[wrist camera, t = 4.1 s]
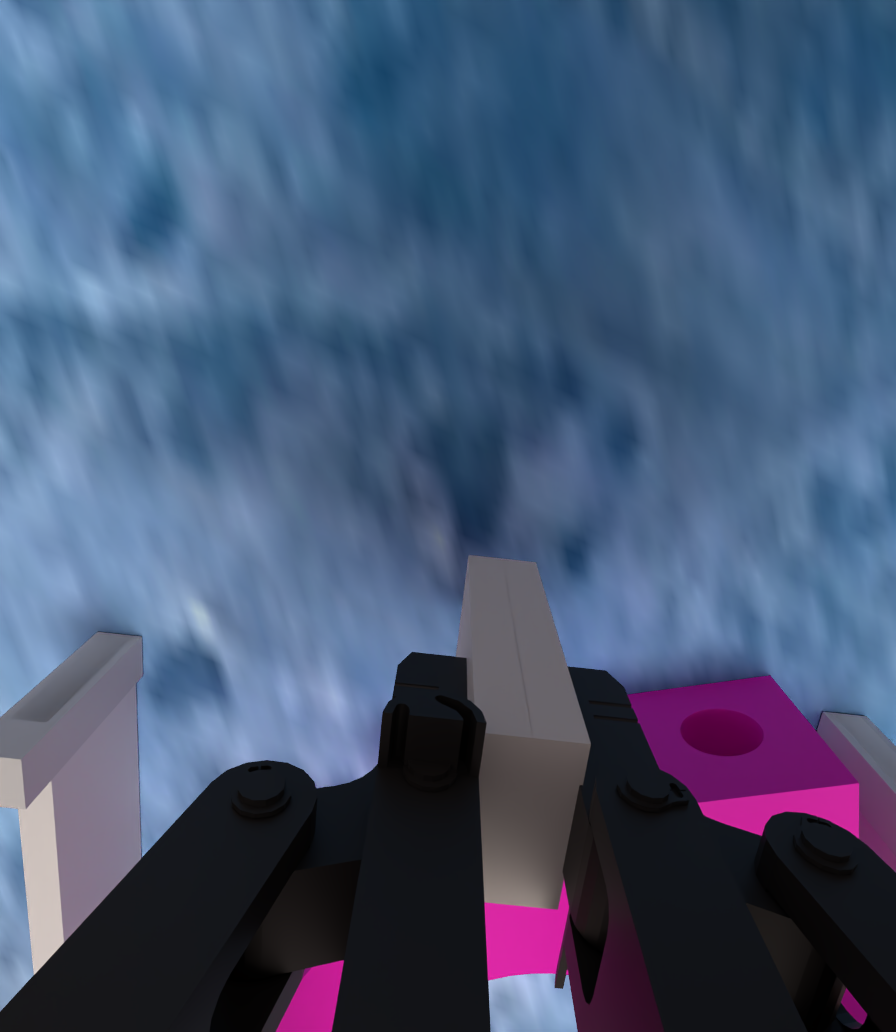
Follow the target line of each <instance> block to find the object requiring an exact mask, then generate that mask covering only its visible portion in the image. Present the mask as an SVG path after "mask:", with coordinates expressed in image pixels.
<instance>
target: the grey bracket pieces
mask: <svg viewBox="0 0 896 1032" xmlns="http://www.w3.org/2000/svg"><path fill="white" fill-rule="evenodd" d="M142 676H143V659H142V637H140V636H131V635H122V634H113V633H104V632H97V633H96V634H94V635H93V636H92V637H91V638H90V639H89V640H88V641H87V642H85V643H84V644H83V645H82V646H81V647H80V648H79V649H77V650H76V651H75V652H74V653H73V654H72V655H71V656H69V657H68V658H67V659H66V660H65V661H64V662H63V663H62V664H60V665H59V666H58V667H57V668H56V669H55V670H54V671H52V672H51V673H50V674H49V675H48V676H47V677H46V678H45V679H43V680H42V681H41V682H40V683H39V684H38V685H37V686H35V687H34V688H33V689H32V690H31V691H30V692H29V693H27V694H26V695H25V696H24V697H23V698H22V699H21V700H20V701H18V702H17V703H16V704H15V705H14V706H13V707H12V708H10V709H9V710H8V711H7V712H6V713H5V714H4V715H3V716H1V717H0V807H6V808H16V809H18V812H19V823H20V833H21V844H22V854H23V865H24V875H25V886H26V896H27V907H28V917H29V928H30V938H31V949H32V959H33V970H34V975H35V974H36V972H37V971H38V970H39V969H40V968H41V967H42V966H43V965H44V964H45V963H46V962H47V961H48V959H49V958H50V957H51V956H52V955H53V954H54V953H55V952H56V951H57V950H58V949H59V947H60V946H61V945H62V944H63V943H64V942H65V941H66V940H67V939H68V938H69V937H70V936H71V934H72V933H73V932H74V931H75V930H76V929H77V928H78V927H79V926H80V925H81V924H82V922H83V921H84V920H85V919H86V918H87V917H88V916H89V915H90V914H91V913H92V912H93V911H94V909H95V908H96V907H97V906H98V905H99V904H100V903H101V902H102V901H103V900H104V899H105V897H106V896H107V895H108V894H109V893H110V892H111V891H112V890H113V889H114V888H115V887H116V886H117V884H118V883H119V882H120V881H121V880H122V879H123V878H124V877H125V876H126V875H127V874H128V873H129V871H130V870H131V869H132V868H133V867H134V866H135V865H136V864H137V863H138V862H139V861H140V859H141V832H140V799H139V766H138V734H137V701H136V683H137V682H138V681H139V680H140V679H141V677H142ZM817 733H818V734H819V735H820V736H821V738H822V739H823V740H824V741H825V742H826V744H827V745H828V746H829V747H830V748H831V750H832V751H833V752H834V753H835V755H836V756H837V757H838V758H839V759H840V761H841V762H842V763H843V764H844V765H845V767H846V768H847V769H848V770H849V771H850V773H851V774H852V775H853V776H854V778H855V779H856V780H857V781H858V782H859V839H860V840H861V841H862V842H864V843H865V844H866V845H867V846H869V847H870V848H871V849H872V850H873V851H874V852H875V853H876V854H877V855H878V856H879V857H880V858H881V859H882V860H883V861H884V862H885V863H886V864H887V865H888V866H890V867H891V868H892V869H893V870H894V871H895V872H896V746H895V745H894V744H893V743H892V742H891V741H890V740H889V739H888V738H887V737H886V736H885V735H884V734H883V733H882V732H881V731H880V730H879V729H878V728H877V727H876V726H875V725H874V724H873V723H872V722H871V721H870V720H869V719H868V718H867V716H858V715H849V714H840V713H831V712H823V713H822V716H821V719H820V722H819V726H818V729H817Z"/></svg>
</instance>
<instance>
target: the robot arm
mask: <svg viewBox="0 0 896 1032" xmlns="http://www.w3.org/2000/svg"><path fill="white" fill-rule="evenodd" d="M563 882H565V888H566V893H567V899H568V904H569V910H568V915H567V920H566V925H565V930H564V934H563V939H562V944H561V949H560V954H559V959H558V964H557V968H556V976H555V988H562V989H563V986H564V981H565V977H566V972H567V970H568V974H569V980H570V986H571V992H572V999H573V1005H574V1011H575V1017H576V1023H577V1029H578V1032H896V872H895V871H894V870H893V869H892V868H891V867H890V866H888V865H887V864H886V863H885V862H884V861H883V860H882V859H881V858H880V857H879V856H878V855H877V854H876V853H875V852H874V851H873V850H872V849H871V848H870V847H869V846H867V845H866V844H865V843H864V842H862V841H861V840H860V839H858V838H857V837H856V836H855V835H853V834H852V833H851V832H849V831H848V830H846V829H844V828H842V827H840V826H838V825H836V824H834V823H832V822H831V821H829V820H826V819H824V818H821V817H817V816H814V815H810V814H807V813H800V812H787V811H786V812H783V813H779V814H776V815H772V816H771V818H770V819H769V820H768V822H767V823H766V824H765V827H764V830H763V833H762V836H761V835H757V834H754V833H751V832H748V831H745V830H742V829H739V828H736V827H733V826H730V825H727V824H724V823H721V822H719V821H716V820H714V819H711V818H709V817H706V816H705V815H703V813H702V811H701V809H700V807H699V805H698V802H697V800H696V799H695V797H694V796H693V795H692V793H691V792H690V791H689V789H688V788H687V787H686V786H685V785H684V784H683V783H681V782H680V781H679V780H677V779H676V778H675V777H673V776H672V775H671V774H669V773H666V772H664V771H662V770H660V769H659V767H658V764H657V762H656V760H655V757H654V755H653V753H652V751H651V748H650V746H649V744H648V741H647V739H646V737H645V735H644V732H643V730H642V728H641V725H640V723H638V718H637V716H636V714H635V712H634V709H633V708H631V702H630V700H629V698H628V696H627V693H626V691H625V689H624V687H623V686H622V685H621V684H620V683H619V682H618V681H617V680H615V679H614V678H613V677H612V676H611V675H610V674H609V673H608V672H607V671H605V670H595V669H586V668H576V667H567V663H566V660H565V657H564V654H563V650H562V647H561V644H560V640H559V637H558V634H557V630H556V627H555V624H554V621H553V617H552V614H551V611H550V607H549V604H548V601H547V598H546V594H545V591H544V588H543V584H542V581H541V578H540V575H539V571H538V568H537V565H536V562H529V561H520V560H511V559H502V558H493V557H483V556H474V555H469V556H468V563H467V571H466V579H465V587H464V595H463V603H462V611H461V619H460V627H459V635H458V643H457V650H456V657H453V656H444V655H434V654H425V653H416V652H412V653H410V654H409V655H408V656H407V657H406V658H405V659H404V660H403V661H402V662H401V663H400V664H399V665H398V668H397V674H396V680H395V686H394V691H393V698H392V700H390V701H389V702H388V704H387V705H386V707H385V709H384V711H383V715H382V725H381V736H380V747H379V757H378V764H377V765H376V766H375V768H374V769H373V770H372V771H370V772H369V773H367V774H366V775H365V776H363V777H361V778H359V779H357V780H354V781H352V782H350V783H346V784H341V785H337V786H331V787H324V788H316V787H315V783H314V781H313V780H312V779H311V778H310V777H309V775H308V774H307V773H306V772H305V771H304V770H302V769H300V768H297V767H295V766H293V765H291V764H289V763H284V762H277V761H269V760H266V761H258V762H249V763H245V764H242V765H240V766H237V767H234V768H232V769H229V770H227V771H226V772H224V773H223V774H222V775H220V776H219V777H218V778H216V779H215V780H214V781H212V782H211V783H210V785H209V786H208V787H207V788H206V789H205V790H204V791H203V792H202V793H201V794H200V795H199V796H198V798H197V799H196V800H195V801H194V802H193V803H192V804H191V805H190V806H189V807H188V808H187V809H186V811H185V812H184V813H183V814H182V815H181V816H180V817H179V818H178V819H177V820H176V821H175V823H174V824H173V825H172V826H171V827H170V828H169V829H168V830H167V831H166V832H165V833H164V834H163V836H162V837H161V838H160V839H159V840H158V841H157V842H156V843H155V844H154V845H153V846H152V848H151V849H150V850H149V851H148V852H147V853H146V854H145V855H144V856H143V857H142V858H141V859H140V861H139V862H138V863H137V864H136V865H135V866H134V867H133V868H132V869H131V870H130V871H129V873H128V874H127V875H126V876H125V877H124V878H123V879H122V880H121V881H120V882H119V883H118V884H117V886H116V887H115V888H114V889H113V890H112V891H111V892H110V893H109V894H108V895H107V896H106V897H105V899H104V900H103V901H102V902H101V903H100V904H99V905H98V906H97V907H96V908H95V909H94V911H93V912H92V913H91V914H90V915H89V916H88V917H87V918H86V919H85V920H84V921H83V922H82V924H81V925H80V926H79V927H78V928H77V929H76V930H75V931H74V932H73V933H72V934H71V936H70V937H69V938H68V939H67V940H66V941H65V942H64V943H63V944H62V945H61V946H60V947H59V949H58V950H57V951H56V952H55V953H54V954H53V955H52V956H51V957H50V958H49V959H48V961H47V962H46V963H45V964H44V965H43V966H42V967H41V968H40V969H39V970H38V971H37V972H36V974H35V975H34V976H33V977H32V978H31V979H30V980H29V981H28V982H27V983H26V984H25V985H24V987H23V988H22V989H21V990H20V991H19V992H18V993H17V994H16V995H15V996H14V997H13V999H12V1000H11V1001H10V1002H9V1003H8V1004H7V1005H6V1006H5V1007H4V1008H3V1009H2V1010H1V1012H0V1032H276V1030H277V1028H278V1026H279V1024H280V1022H281V1020H282V1018H283V1016H284V1014H285V1012H286V1010H287V1008H288V1006H289V1004H290V1002H291V1000H292V998H293V996H294V994H295V992H296V990H297V988H298V986H299V984H300V982H301V980H302V977H303V974H304V970H305V969H306V968H311V967H315V966H320V965H324V964H329V963H333V962H338V961H342V960H344V963H343V969H342V975H341V980H340V986H339V992H338V998H337V1003H336V1009H335V1015H334V1021H333V1026H332V1032H490V1011H489V990H488V968H487V946H486V924H485V903H484V902H486V903H496V904H506V905H516V906H526V907H536V908H546V909H555V910H558V907H559V902H560V897H561V892H562V887H563ZM846 988H847V989H848V991H849V992H850V993H851V994H852V996H853V997H854V998H855V999H856V1001H857V1002H858V1003H859V1004H860V1006H861V1007H862V1008H863V1009H864V1011H865V1012H866V1013H867V1017H866V1019H865V1022H864V1023H863V1024H861V1023H859V1022H857V1021H856V1020H855V1019H854V1018H853V1016H852V1015H851V1014H850V1013H849V1012H848V1011H847V1010H846V1009H845V1007H844V1006H843V1005H842V1003H841V1001H842V998H843V995H844V993H845V990H846Z"/></svg>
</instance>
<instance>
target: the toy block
mask: <svg viewBox="0 0 896 1032" xmlns="http://www.w3.org/2000/svg"><path fill="white" fill-rule="evenodd" d="M627 696H628V698H629V700H630V702H631V708H633V709H634V712H635V714H636V716H637V718H638V723H640V725H641V728H642V730H643V732H644V735H645V737H646V739H647V741H648V744H649V746H650V748H651V751H652V753H653V755H654V757H655V760H656V762H657V764H658V767H659V769H660V770H662V771H664V772H666V773H669V774H671V775H672V776H673V777H675V778H676V779H677V780H679V781H680V782H681V783H683V784H684V785H685V786H686V787H687V788H688V789H689V791H690V792H691V793H692V795H693V796H694V797H695V799H696V800H697V802H698V805H699V807H700V809H701V811H702V813H703V815H705V816H706V817H709V818H711V819H714V820H716V821H719V822H721V823H724V824H727V825H730V826H733V827H736V828H739V829H742V830H745V831H748V832H751V833H754V834H757V835H761V836H762V833H763V830H764V827H765V824H766V823H767V822H768V820H769V819H770V818H771V816H772V815H776V814H779V813H783V812H786V811H787V812H800V813H807V814H810V815H814V816H817V817H821V818H824V819H826V820H829V821H831V822H832V823H834V824H836V825H838V826H840V827H842V828H844V829H846V830H848V831H849V832H851V833H852V834H853V835H855V836H856V837H857V838H858V839H859V782H858V781H857V780H856V779H855V778H854V776H853V775H852V774H851V773H850V771H849V770H848V769H847V768H846V767H845V765H844V764H843V763H842V762H841V761H840V759H839V758H838V757H837V756H836V755H835V753H834V752H833V751H832V750H831V748H830V747H829V746H828V745H827V744H826V742H825V741H824V740H823V739H822V738H821V736H820V735H819V734H818V733H817V732H816V730H815V729H814V728H813V727H812V725H811V724H810V723H809V722H808V721H807V719H806V718H805V717H804V716H803V715H802V713H801V712H800V711H799V710H798V709H797V707H796V706H795V705H794V704H793V702H792V701H791V700H790V699H789V698H788V696H787V695H786V694H785V693H784V692H783V690H782V689H781V688H780V687H779V686H778V684H777V683H776V682H775V681H774V679H773V678H772V677H771V676H770V675H769V676H762V677H754V678H747V679H739V680H732V681H724V682H717V683H710V684H702V685H695V686H687V687H680V688H672V689H665V690H658V691H650V692H643V693H635V694H628V695H627ZM484 903H485V924H486V946H487V968H488V980H492V979H497V978H502V977H507V976H512V975H522V974H531V973H553V974H556V968H557V964H558V959H559V954H560V949H561V944H562V939H563V934H564V930H565V925H566V920H567V915H568V910H569V904H568V899H567V893H566V888H565V882H563V887H562V892H561V897H560V902H559V907H558V910H555V909H546V908H536V907H526V906H516V905H506V904H496V903H486V902H484ZM343 963H344V960H342V961H338V962H333V963H329V964H324V965H320V966H315V967H311V968H306V969H305V970H304V974H303V977H302V980H301V982H300V984H299V986H298V988H297V990H296V992H295V994H294V996H293V998H292V1000H291V1002H290V1004H289V1006H288V1008H287V1010H286V1012H285V1014H284V1016H283V1018H282V1020H281V1022H280V1024H279V1026H278V1028H277V1030H276V1032H332V1026H333V1021H334V1015H335V1009H336V1003H337V998H338V992H339V986H340V980H341V975H342V969H343ZM566 975H569V974H568V970H567V972H566ZM841 1003H842V1005H843V1006H844V1007H845V1009H846V1010H847V1011H848V1012H849V1013H850V1014H851V1015H852V1016H853V1018H854V1019H855V1020H856V1021H857V1022H859V1023H861V1024H863V1023H864V1022H865V1019H866V1017H867V1013H866V1012H865V1011H864V1009H863V1008H862V1007H861V1006H860V1004H859V1003H858V1002H857V1001H856V999H855V998H854V997H853V996H852V994H851V993H850V992H849V991H848V989H847V988H846V990H845V993H844V995H843V998H842V1001H841Z"/></svg>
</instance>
